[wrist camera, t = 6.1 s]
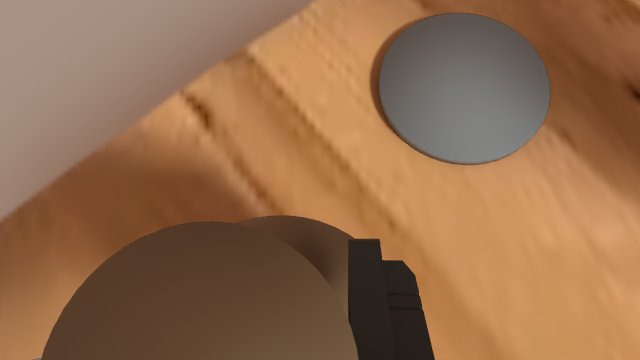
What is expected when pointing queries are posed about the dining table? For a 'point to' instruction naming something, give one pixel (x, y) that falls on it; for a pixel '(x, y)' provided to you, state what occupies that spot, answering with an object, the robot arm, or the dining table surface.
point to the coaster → (463, 88)
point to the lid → (215, 296)
